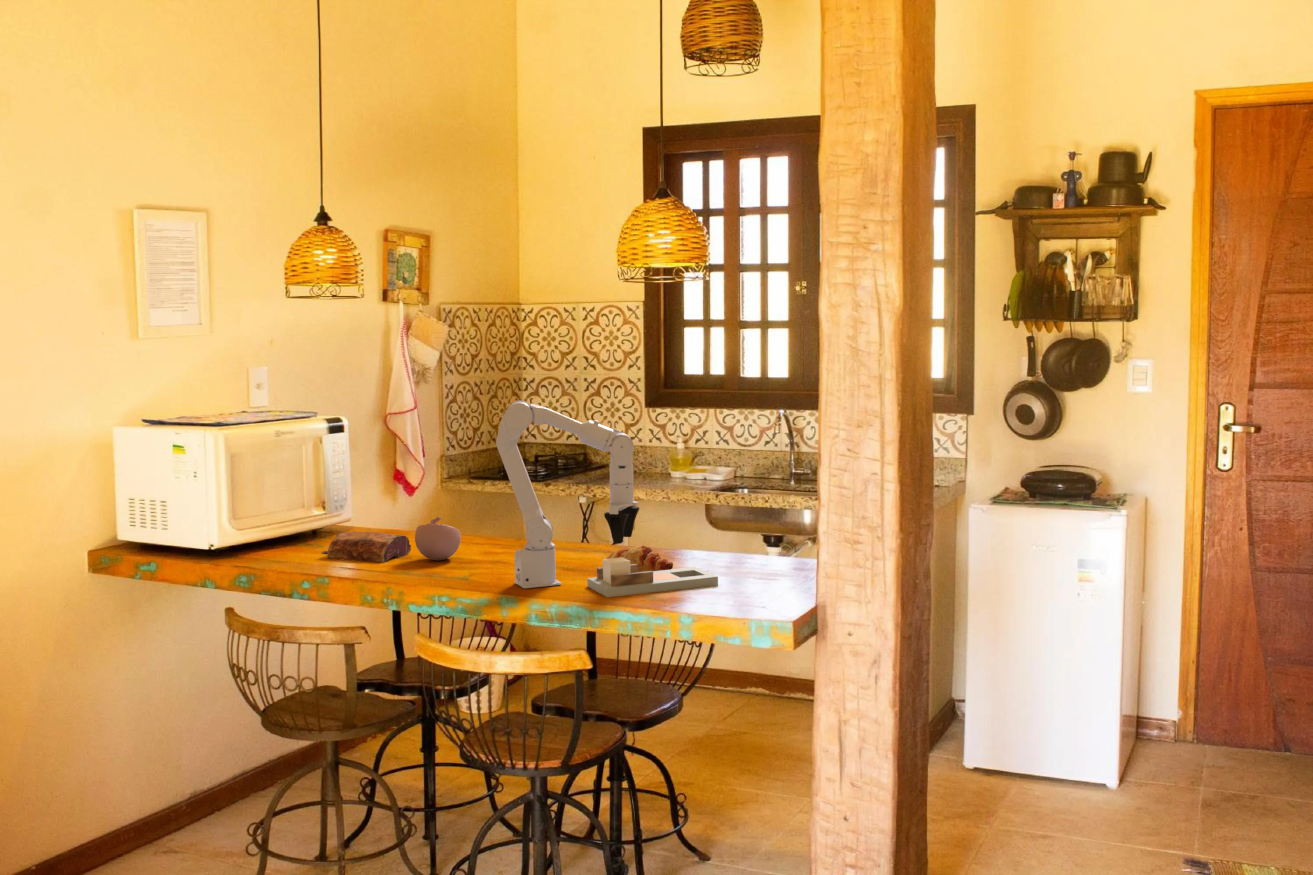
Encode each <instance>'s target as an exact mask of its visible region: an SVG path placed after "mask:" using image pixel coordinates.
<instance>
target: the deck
mask: <svg viewBox="0 0 1313 875" xmlns="http://www.w3.org/2000/svg"><path fill="white" fill-rule="evenodd" d="M652 572H653V583H643V584H634V585H625V586H616V587H613V586H611V584H609V583H607V582H606V581H604V580H603V579H597V576H596V577H588V578H586V579H587V587H588V588H589V589H591V590H592V591H594V592H597V593H599V594H601V595H602V596H604V597H606V598H611V597H614V598H615V597H622V596H631V595H639V594H650V593H659V592H667V591H675V590H677V591H678V590H686V589H693V588H703V587H711V586H718V585H719V577H718V576H717V575H715V574H712V573H710V572H708V571H705V570H703V569H701V568H699V567H696V566H692V567H691V566H690V567H682V568H674V569H673V568H672V569H671V570H661V571H652Z"/></svg>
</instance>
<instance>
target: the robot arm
mask: <svg viewBox="0 0 1313 875" xmlns="http://www.w3.org/2000/svg"><path fill="white" fill-rule="evenodd" d="M532 422H533V426H535V427H536V426H542V425H547V426H551V427H554V428H557V429H559V430H562V431H565V432H567V433H570V434H573V435H576V436H577V437H578V440H579V442H580V443H581V444H584V445H586V446H588V447H591V448H594V449H596V450H599V451H601V452H604V453H605V452H609V453H610V454H609V455H610V463H609V466H608V467H609V502H608V506H609V507H608V510H609V511H607V512H604V513H603V514H604V518H605V520H606V522H607V525H608V526H609V529H610V534H611V538H612V541H613V543H619V544H620V543H623V540H624V538H632V536H633V531H634V526H635V521H636V519H637V516H638V513H639V512H640V507H639V504H640V503H639V502H640V501H636V500H635V496H634V493H635V492H634V491H635V490H634V485H635V484H634V483H635V482H634V464H633V461H634V458H633V454H634V451H635V446H634V441H633V440H632V438H631V437H630V436H629V435H628V434H626V433H625V432H623V431H619V429H618V428H615V427H614V428H613V429H612V428H610V427H608V426H606V425H603V424H600V421H599V420H597V419H594V420H586V421H584V422H580V421H578V420H576V419H574V418H571V417H568V416H566V415H564V414H562V413H560V412H558V411H555V410H553V409H551V408H548V407H545V406H542V405H538V404H534V403H528V402H527V401H524V400H516V401H513V402H511V403H510V405H509V406H508V407H507V409H506V410H505V411H504V414H503V415H502V417H501V421H500V425H499V429H498V432H497V437H496V440H495V444H496V448H497V451H498V453H499V455H500V456H499V457H500V458H501V462H502V464H503V466H504V470H505V472H506V474H507V477H508V480H509V482H510V485H511V487H512V490H513V492H514V495H515V498H516V502H517V504H518V506H519V509H520V511H521V514H522V518H523V523H524V525H525V529H526V531H525V537H526V541H527V543H525V544H524V547H523V548H521V549H516V550H515V553H514V579H515V580H514V584H516V585H517V586H519V587H520V588H523V589H532V588H533V589H534V588H542V587H549V586H550V587H551V586H552V587H553V586H560V585H562V582H561V581H559V580H558V579H556V578H557V577H556V575H557V572H556V568H557V567H556V544H555V543H553V542H552V541H553V536H554V534H553V530H554V529H553V527H554V526H553V524H552V522H551V521H550V520H549V519H548V518H547V517H546V516H545V514H544V512H543V509H542V508H541V505H540V503H539V500H538V497H537V494H536V492H535V489H534V487H533V483H532V481H531V478H530V476H529V473H528V470H527V468H526V466H525V462H524V461H523V457H522V455H521V452H520V450H519V446H518V442H519V440H520V438H521V436H522V434H523V433H524V431H526V430H527V429H528V428H529V427H530V425H531V424H532Z"/></svg>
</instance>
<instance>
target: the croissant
mask: <svg viewBox="0 0 1313 875" xmlns="http://www.w3.org/2000/svg"><path fill="white" fill-rule="evenodd" d="M620 557H623V558H625V559H627V560H629V561H630V564H637V565H638V572H645V571H661V570H671V569H673V568H674V563H673V561H669V560H668V559H666V558H665V557H661V556H660V555H659V553H658V552H654V551H653V550H652V548H650V546H646V545H643V544H642V545H638V546H633V547H632V548H627V549H626V548H625V549H620V550H618V551H617V552H613V553H610V554H609V555H608V556H605V558H604V559H610V558H620Z"/></svg>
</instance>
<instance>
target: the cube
mask: <svg viewBox="0 0 1313 875" xmlns="http://www.w3.org/2000/svg"><path fill="white" fill-rule="evenodd" d="M602 567H603V580H604V581H606V582H607V583H609V584H611V575H616V574H626V573H631V566H630V561H629V560H627V559H625V558H623V557H620V558H610V559H605V558H603V559H602Z"/></svg>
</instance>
